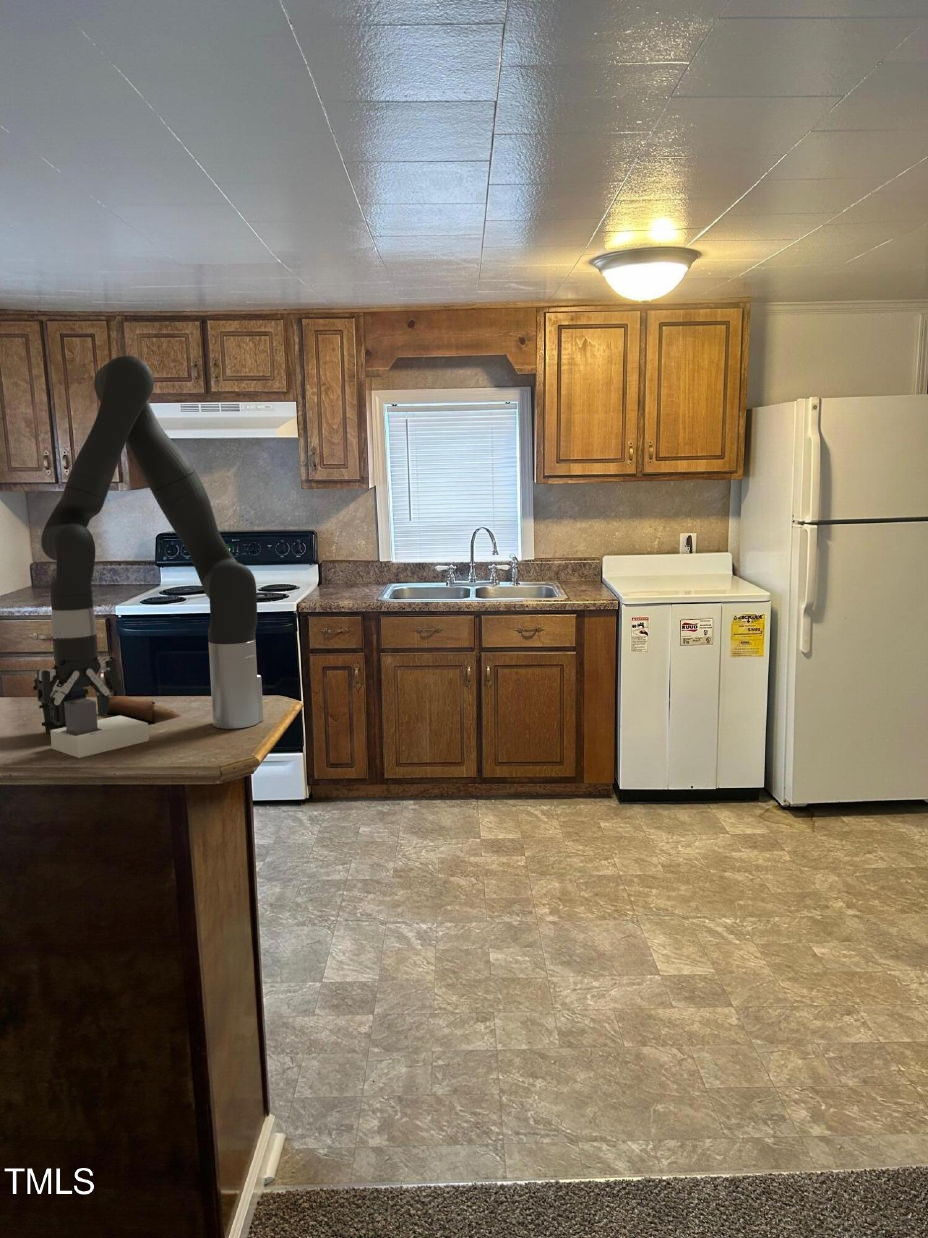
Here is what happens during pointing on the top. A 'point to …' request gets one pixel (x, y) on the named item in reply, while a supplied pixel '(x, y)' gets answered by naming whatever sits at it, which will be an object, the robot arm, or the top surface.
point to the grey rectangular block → (80, 716)
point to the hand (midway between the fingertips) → (81, 719)
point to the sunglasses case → (140, 709)
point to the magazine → (70, 696)
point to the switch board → (101, 737)
